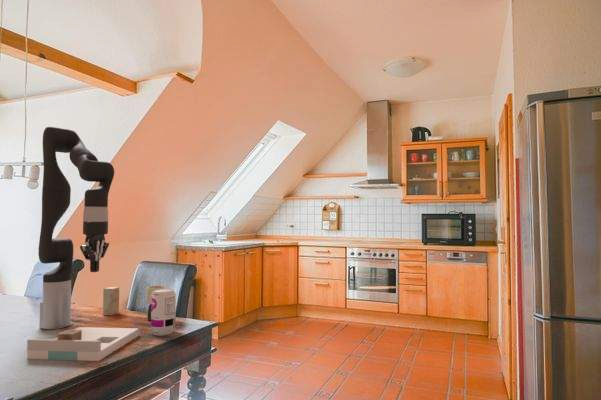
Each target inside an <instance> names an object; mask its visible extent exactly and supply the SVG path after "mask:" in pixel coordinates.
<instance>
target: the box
mask: <svg viewBox="0 0 601 400" xmlns="http://www.w3.org/2000/svg"><path fill="white" fill-rule="evenodd" d="M102 296H103V297H102V298H103V300H102V301H103V302H102V315H104V316H113V315H116V314H119V312H120V287H119V286H110V287H106V288H103V295H102Z"/></svg>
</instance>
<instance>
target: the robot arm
mask: <svg viewBox="0 0 601 400" xmlns="http://www.w3.org/2000/svg"><path fill="white" fill-rule="evenodd" d="M42 133H43V134H42V158H43V163H42V164H43V175H42V178H43V179H42V188H41V189H42V191H41V223H40V224H41V227H40V234H39V242H38V253H37V254H38V259H39V261H40V263H41V264H43V265H44V264H57V263H59V264H58V266H57V267H56V268H53V269H52V270H50V271H47V272H45V273H43V276H42V301H41V302H39V325H38V326H39V329H42V330H58V329H63V328H67V327H70V325H71V322H72V321H71V320H72V319H71V315H72V314H71V313H72V312H71V311H72V310H71V309H72V308H71V307H72V274H73V262H74V261H73V260H74V244H73V240H72V239H71V238H70V237H60V238H53V234H54V232H55V228H56V225H57V224H58V222H59V221H60V220H61V218H62V217H63V216H64V215H65V213H66V211H68V210H69V209H68V208H69V207H70V205H71V195H72V194H71V191H72V190H71V189H72V188H71V184H70V183H69V181H68V179H67V177H66V176H65V175H64V173H63V171H62V169H61V168H60V166H59V164H58V161H57V160H58V159H57V153H62V154H69V159H70V162H71V163H72V164H73V165H74V167H76V168H77V170H78V174H79V178H80V179H82V180H83V181H86V182H91V183H92V182H94V183H98V186H97V187H95V188H89V189H87V190H85V192H84V205H83V206H84V209H83V213H82V214H83V216H82V234H83V235H85V236H86V237H85V239H84V244H82V245H80V247H79V249H80V251H81V253H82V255H83V257H84V260H87V261H89V271H90V273H97V272H100V261H101V260H102V259H103V258H104V257H105V254H106V252H107V250H108V249H109V248H108V247H109V245H110V242H106V237H105V235H108V232H109V205H108V204H109V199H108V198H109V193H110V189H111V185H112V182H113V180H114V176H115V168H114V166H113V164H112V163H110V162H107V161H99V160H98V158H97V156H96V155H94V153H92V152H91V151H90V150H89V149H88V148H87V147H86V146H85V144H84V142H83V141H82V139H81V137H80V135H78V133H77V132H76V131H74V130H73V129H69V128H63V127H57V126H51V125H50V126H49V125H48V126H46V127H45V128H44V130H43V132H42Z"/></svg>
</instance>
